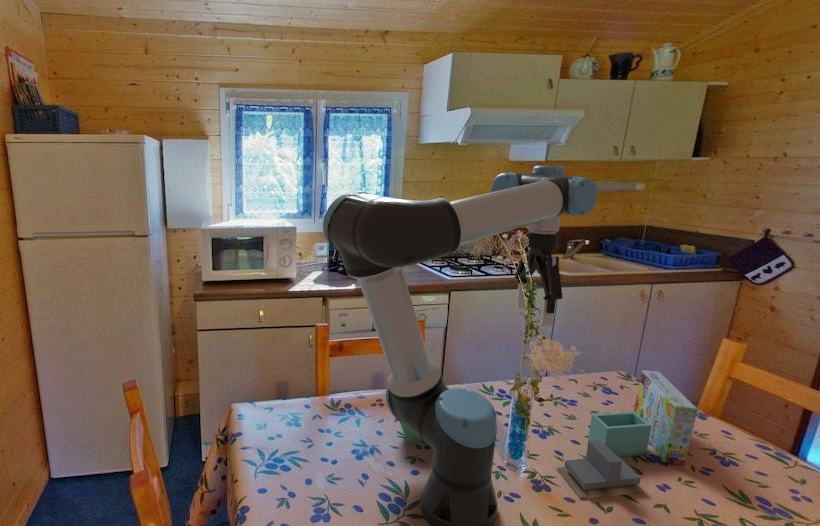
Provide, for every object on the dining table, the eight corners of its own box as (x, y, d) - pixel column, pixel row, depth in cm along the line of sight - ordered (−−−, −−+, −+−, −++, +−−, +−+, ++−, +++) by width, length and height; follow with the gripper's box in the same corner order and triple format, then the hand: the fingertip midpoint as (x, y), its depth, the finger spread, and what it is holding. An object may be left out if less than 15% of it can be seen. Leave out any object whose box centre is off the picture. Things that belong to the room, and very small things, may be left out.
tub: (602, 458, 113) (607, 428, 111) (587, 443, 119) (591, 414, 118) (646, 454, 116) (651, 425, 114) (629, 439, 122) (633, 411, 120)
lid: (583, 493, 100) (587, 464, 98) (563, 470, 107) (567, 442, 106) (638, 487, 103) (643, 459, 101) (615, 464, 110) (620, 438, 109)
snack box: (688, 466, 112) (699, 408, 109) (663, 464, 112) (674, 406, 109) (651, 419, 133) (660, 370, 129) (631, 417, 133) (639, 368, 130)
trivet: (580, 499, 99) (580, 497, 98) (556, 469, 108) (556, 467, 108) (642, 492, 102) (643, 490, 102) (614, 463, 111) (614, 462, 111)
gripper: (585, 240, 101) (573, 333, 105) (533, 225, 125) (525, 301, 129) (554, 239, 100) (543, 334, 104) (507, 224, 123) (499, 301, 128)
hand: (533, 316), depth 117 cm, fingers open, 13 cm apart
